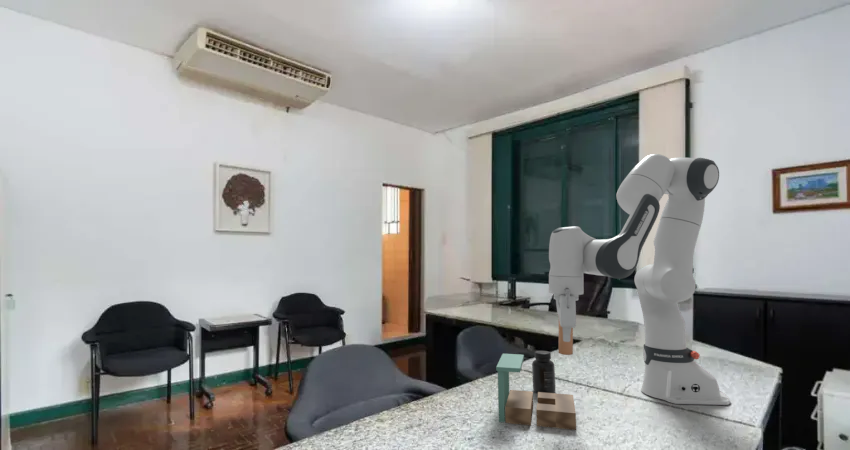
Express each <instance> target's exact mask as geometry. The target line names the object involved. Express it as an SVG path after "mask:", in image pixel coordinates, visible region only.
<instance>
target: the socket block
mask: <svg viewBox="0 0 850 450" xmlns="http://www.w3.org/2000/svg"><path fill="white" fill-rule="evenodd" d="M533 411H534V391H530V390H518V389H517V390H516V389H509V396H508V399H507V403H506V406H505V423H506V424H510V425H511V424H513V425H521V426H523V425H525V426H532V421H533ZM535 411H536V412H535V413H536V414H535V415H536V427H541V426H542V427H544V428H553V429H563V430H572V431H577V416H576V415H577V414H576V405H575V399H574V395H573V394H569V393H568V394H567V393H566V394H565V393H556V392H554V393H545V392H538V393H537V403H536V409H535Z"/></svg>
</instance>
